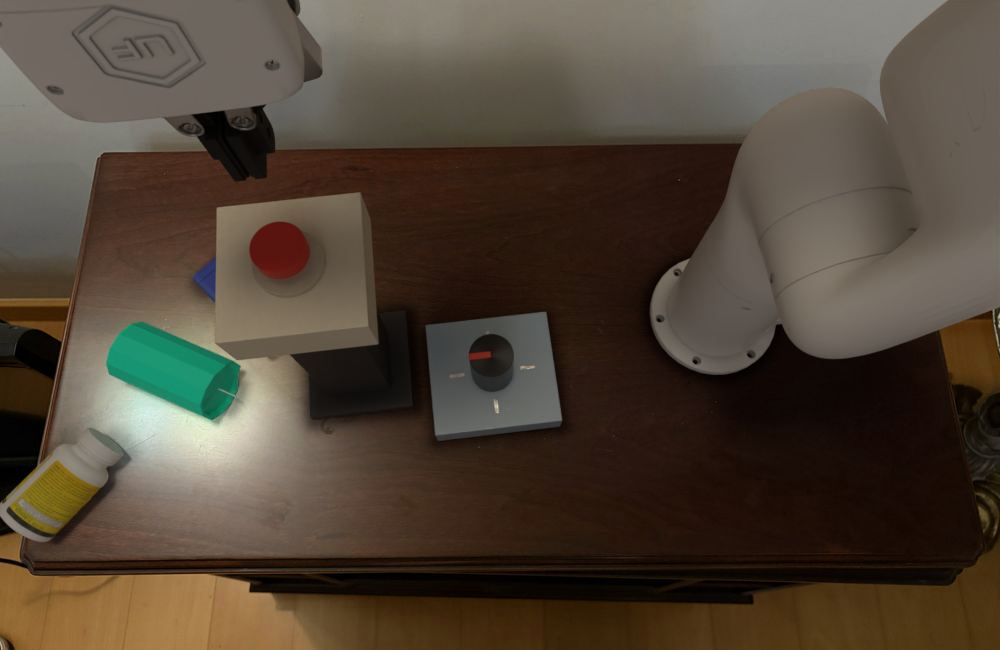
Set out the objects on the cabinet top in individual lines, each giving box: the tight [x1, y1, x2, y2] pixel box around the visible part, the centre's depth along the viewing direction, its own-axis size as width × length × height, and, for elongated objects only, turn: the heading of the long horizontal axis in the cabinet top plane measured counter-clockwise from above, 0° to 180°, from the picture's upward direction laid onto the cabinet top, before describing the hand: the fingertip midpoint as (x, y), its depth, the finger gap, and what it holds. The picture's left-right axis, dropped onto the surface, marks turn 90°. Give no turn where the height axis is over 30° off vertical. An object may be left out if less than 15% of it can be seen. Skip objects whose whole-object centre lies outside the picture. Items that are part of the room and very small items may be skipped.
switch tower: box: [214, 191, 415, 421], centre depth 59 cm, size 10×10×26 cm
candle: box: [105, 321, 242, 421], centre depth 68 cm, size 6×6×12 cm
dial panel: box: [424, 311, 563, 442], centre depth 69 cm, size 12×11×3 cm
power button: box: [249, 222, 310, 279], centre depth 45 cm, size 4×4×1 cm
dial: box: [469, 334, 514, 392], centre depth 65 cm, size 4×4×6 cm
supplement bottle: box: [0, 427, 124, 543], centre depth 65 cm, size 5×5×10 cm
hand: (251, 155), depth 37 cm, fingers closed
